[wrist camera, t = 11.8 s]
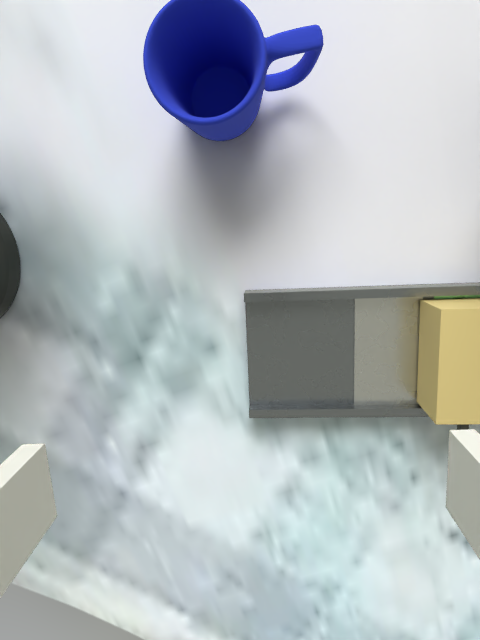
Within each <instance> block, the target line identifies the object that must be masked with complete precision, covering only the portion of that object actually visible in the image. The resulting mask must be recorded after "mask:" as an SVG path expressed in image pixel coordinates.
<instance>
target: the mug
mask: <svg viewBox="0 0 480 640" xmlns="http://www.w3.org/2000/svg"><path fill="white" fill-rule="evenodd" d="M322 47H323V35H322V30H321V28H320V27H319V26H318V25H311V26H306V27H300V28H296V29H292V30H288V31H284V32H281V33H278V34H275V35H273V36H270V37H267V38H265V37H264V36H263V33H262V30H261V27H260V25H259V23H258V21H257V19H256V18H255V16H254V15H253V13H252V12H251V11H250V10H249V8H248V7H247V6H246V5H245V4H244V3H242V2H241V1H240V0H171V1H169V2H168V3H167V4H166V5H165V6H164V7H163V8H162V9H161V10H160V11H159V13H158V14H157V15H156V17H155V18H154V20H153V22H152V24H151V26H150V28H149V30H148V33H147V36H146V40H145V45H144V53H143V61H144V70H145V75H146V79H147V82H148V85H149V87H150V90H151V92H152V93H153V95H154V97H155V98H156V100H157V101H158V103H159V104H160V105H161V106H162V107H163V108H164V109H165V110H166V111H167V112H168V113H169V114H171V115H172V116H174V117H175V118H176V119H178V120H179V121H180V122H182V123H183V124H185V125H186V126H187V127H189V128H190V129H192V130H193V131H194V132H196V133H197V134H199V135H200V136H202V137H204V138H207V139H210V140H214V141H225V140H230V139H233V138H236V137H238V136H239V135H241V134H242V133H244V132H245V131H246V130H247V129H248V128H249V127H250V126H251V124H252V123H253V122H254V120H255V118H256V116H257V114H258V111H259V107H260V103H261V99H262V94H263V90H264V89H265V90H266V91H277V90H282V89H286V88H289V87H292V86H294V85H296V84H298V83H300V82H301V81H302V80H304V79H305V78H306V77H307V76H308V75H309V73H310V72H311V70H312V69H313V67H314V65H315V63H316V62H317V59H318V57H319V55H320V53H321V51H322ZM304 52H305V54H304V56H303V57H302V59H301V60H300V61H299V62H298V63H297V64H296V65H295V66H293V67H292V68H290V69H288V70H286V71H283V72H280V73H276V74H270V75H266V73H267V69H268V67H269V65H270V64H271V63H272V62H273V61H275V60H276V59H279V58H283V57H286V56H291V55H295V54H299V53H304Z"/></svg>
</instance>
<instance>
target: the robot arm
mask: <svg viewBox="0 0 480 640" xmlns="http://www.w3.org/2000/svg"><path fill="white" fill-rule="evenodd" d="M19 279H20V258H19V252H18V248H17V244H16V241H15V238H14V236H13V234H12V231H11V229H10V227H9V226H8V224H7V222H6V221H5V219H4V218H3V216H2V215H1V214H0V318H1V317H2V316H3V315H4V314H5V312H6V311H7V310H8V308H9V307H10V305H11V303H12V302H13V300H14V297H15V295H16V292H17V289H18V285H19ZM446 508H447V510H448V512H449V513H450V515H451V516H452V518H453V519H454V521H455V522H456V524H457V525H458V527H459V528H460V530H461V532H462V533H463V535H464V536H465V538H466V539H467V541H468V542H469V544H470V545H471V547H472V548H473V550H474V552H475V553H476V555H477V556H478V558H479V559H480V434H479V433H478V432H477V431H476V430H475V429H467V430H449V449H448V470H447V491H446ZM56 517H57V512H56V506H55V500H54V494H53V488H52V483H51V477H50V471H49V465H48V459H47V454H46V448H45V444H22V445H21V446H20V447H19V448H18V449H17V450H16V451H15V452H14V453H13V454H11V455H10V456H9V457H8V458H7V459H6V460H5V461H4V462H3V463H2V464H1V465H0V598H1V597H2V595H3V594H4V592H5V591H6V589H7V588H8V587H9V585H10V584H11V582H12V581H13V579H14V578H15V576H16V575H17V574H18V572H19V571H20V569H21V568H22V566H23V565H24V563H25V562H26V561H27V559H28V558H29V556H30V555H31V553H32V552H33V551H34V549H35V548H36V546H37V545H38V543H39V542H40V540H41V539H42V538H43V536H44V535H45V533H46V532H47V530H48V529H49V527H50V526H51V525H52V523H53V522H54V520H55V519H56Z"/></svg>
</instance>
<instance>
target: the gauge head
mask: <svg viewBox="0 0 480 640" xmlns="http://www.w3.org/2000/svg"><path fill="white" fill-rule="evenodd" d="M417 402H418V404H419V405H420V406H421V407H422V408H423V410H424V411H425V412H426V413H427V414H428V416H429V417H430V418H431V419H432V420H433V422H434V423H435V424H457V430H467V429H469V424H480V298H467V299H434V300H420V325H419V352H418V379H417Z"/></svg>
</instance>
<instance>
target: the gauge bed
mask: <svg viewBox="0 0 480 640" xmlns="http://www.w3.org/2000/svg"><path fill="white" fill-rule="evenodd" d="M467 298H480V282H478V283H448V284H418V285H388V286H358V287H329V288H299V289H269V290H246V291H245V293H244V302H245V304H246V327H247V351H248V375H249V399H250V407H249V418H298V417H427V416H428V414H427V413H426V412H425V411H424V410H423V408H422V407H421V406H420V405H419V404H418V402H417V379H418V352H419V325H420V300H434V299H467Z"/></svg>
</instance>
